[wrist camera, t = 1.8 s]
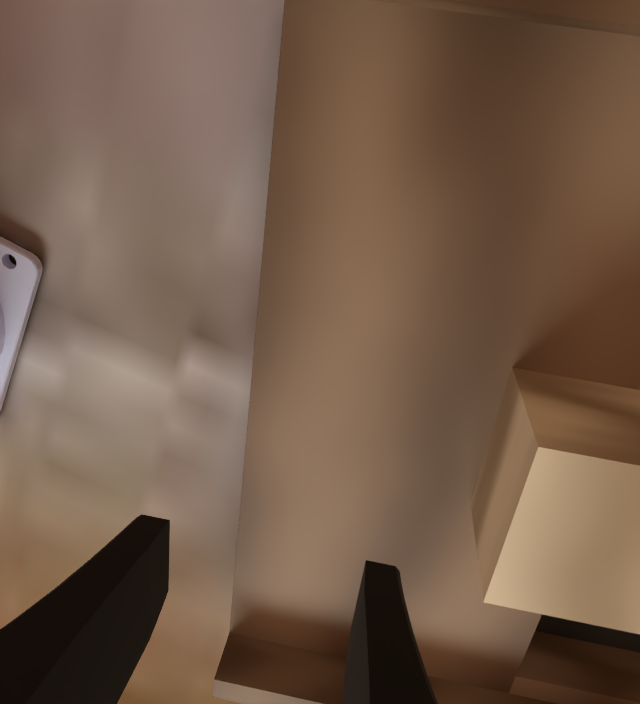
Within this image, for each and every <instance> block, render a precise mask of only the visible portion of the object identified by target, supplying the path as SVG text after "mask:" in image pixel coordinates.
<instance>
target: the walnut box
mask: <svg viewBox="0 0 640 704" xmlns="http://www.w3.org/2000/svg"><path fill="white" fill-rule="evenodd" d="M512 368H518V369H523V370H529V371H535V372H540V373H546V374H552V375H557V376H563V377H569V378H574V379H580V380H586V381H591V382H597V383H603V384H608V385H614V386H620V387H625V388H631V389H637V390H640V0H285V3H284V14H283V25H282V37H281V48H280V60H279V71H278V83H277V94H276V105H275V117H274V128H273V140H272V151H271V163H270V174H269V186H268V197H267V208H266V220H265V231H264V243H263V254H262V266H261V277H260V288H259V300H258V311H257V323H256V334H255V346H254V357H253V369H252V380H251V391H250V403H249V414H248V426H247V437H246V449H245V460H244V471H243V483H242V494H241V506H240V517H239V529H238V540H237V552H236V563H235V574H234V586H233V597H232V609H231V620H230V632H229V636H228V639H227V642H226V645H225V648H224V651H223V654H222V657H221V660H220V663H219V666H218V669H217V672H216V676H215V679H214V689H213V697H216V698H221V699H225V700H229V701H234V702H238V703H243V704H343V688H344V676H345V668H346V660H347V653H348V645H349V638H350V630H351V625H352V621H353V616H354V612H355V607H356V602H357V598H358V593H359V589H360V584H361V580H362V575H363V571H364V566H365V561H366V560H368V561H373V562H378V563H383V564H388V565H393V566H396V567H397V568H398V570H399V571H400V576H401V583H402V588H403V593H404V598H405V602H406V606H407V611H408V614H409V618H410V622H411V625H412V629H413V632H414V636H415V639H416V643H417V646H418V649H419V652H420V655H421V658H422V661H423V664H424V667H425V670H426V673H427V676H428V678H429V681H430V684H431V687H432V690H433V692H434V695H435V697H436V700H437V702H438V704H640V634H635V633H630V632H625V631H621V630H616V629H611V628H606V627H601V626H596V625H591V624H586V623H582V622H577V621H572V620H567V619H562V618H557V617H552V616H548V615H543V614H538V613H533V612H528V611H523V610H518V609H513V608H509V607H504V606H499V605H494V604H489V603H484V602H483V596H482V588H481V581H480V573H479V566H478V558H477V550H476V543H475V535H474V528H473V520H472V512H471V505H470V502H471V499H472V496H473V493H474V489H475V486H476V483H477V480H478V476H479V473H480V470H481V467H482V463H483V460H484V457H485V454H486V450H487V447H488V444H489V441H490V437H491V434H492V431H493V428H494V424H495V421H496V418H497V415H498V411H499V408H500V405H501V402H502V398H503V395H504V392H505V389H506V385H507V382H508V379H509V376H510V372H511V369H512Z"/></svg>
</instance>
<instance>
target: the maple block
mask: <svg viewBox="0 0 640 704" xmlns="http://www.w3.org/2000/svg"><path fill="white" fill-rule="evenodd" d="M470 505H471V512H472V520H473V528H474V535H475V543H476V550H477V558H478V566H479V573H480V581H481V588H482V596H483V602H484V603H489V604H494V605H499V606H504V607H509V608H513V609H518V610H523V611H528V612H533V613H538V614H543V615H548V616H552V617H557V618H562V619H567V620H572V621H577V622H582V623H586V624H591V625H596V626H601V627H606V628H611V629H616V630H621V631H625V632H630V633H635V634H640V390H637V389H631V388H625V387H620V386H614V385H608V384H603V383H597V382H591V381H586V380H580V379H574V378H569V377H563V376H557V375H552V374H546V373H540V372H535V371H529V370H523V369H518V368H512V369H511V372H510V376H509V379H508V382H507V385H506V389H505V392H504V395H503V398H502V402H501V405H500V408H499V411H498V415H497V418H496V421H495V424H494V428H493V431H492V434H491V437H490V441H489V444H488V447H487V450H486V454H485V457H484V460H483V463H482V467H481V470H480V473H479V476H478V480H477V483H476V486H475V489H474V493H473V496H472V499H471V502H470Z"/></svg>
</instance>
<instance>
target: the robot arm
mask: <svg viewBox="0 0 640 704" xmlns="http://www.w3.org/2000/svg"><path fill="white" fill-rule="evenodd" d="M9 254H10V255H12V256H13V257H14V258H15V260H16V265H14V264H13V263H12V262H11V261H10V259H9ZM42 269H43V267H42V264H41V261H40V260H39V259H38V257H37V256H35V255H34V254H33V253H31V252H29V251H27V250H25V249H23V248H21V247H20V246H18V245H16V244H14V243H12V242H10V241H8V240H6V239H4V238H2V237H1V236H0V412H1V409H2V405H3V402H4V399H5V395H6V392H7V389H8V385H9V382H10V379H11V375H12V372H13V369H14V365H15V362H16V359H17V355H18V352H19V349H20V345H21V342H22V339H23V335H24V332H25V329H26V325H27V322H28V319H29V315H30V312H31V308H32V305H33V302H34V298H35V295H36V292H37V288H38V285H39V282H40V278H41V275H42ZM169 531H170V520H166V519H161V518H156V517H151V516H146V515H140V516H138V517H137V518H136V519H135V520H133V521H132V522H131V523H130V524H129V525H128V526H127V527H126V528H125V529H124V530H123V531H121V532H120V533H119V534H118V535H117V536H116V537H115V538H114V539H113V540H111V541H110V542H109V543H108V544H107V545H106V546H105V547H104V548H102V549H101V550H100V551H99V552H98V553H97V554H96V555H94V556H93V557H92V558H91V559H90V560H89V561H88V562H86V563H85V564H84V565H83V566H82V567H80V568H79V569H78V570H77V571H76V572H74V573H73V574H72V575H71V576H70V577H68V578H67V579H66V580H65V581H64V582H62V583H61V584H60V585H59V586H57V587H56V588H55V589H54V590H52V591H51V592H50V593H49V594H47V595H46V596H45V597H43V598H42V599H41V600H39V601H38V602H37V603H35V604H34V605H33V606H31V607H30V608H29V609H27V610H26V611H25V612H24V613H22V614H21V615H20V616H18V617H17V618H16V619H14V620H13V621H11V622H10V623H9V624H7V625H6V626H4V627H3V628H2V629H0V704H117V702H118V700H119V698H120V696H121V695H122V693H123V691H124V689H125V687H126V685H127V683H128V681H129V679H130V677H131V675H132V673H133V671H134V669H135V667H136V665H137V663H138V661H139V659H140V657H141V656H142V654H143V652H144V650H145V648H146V646H147V644H148V642H149V640H150V637H151V635H152V632H153V630H154V627H155V625H156V622H157V620H158V617H159V614H160V612H161V609H162V606H163V604H164V601H165V598H166V596H167V593H168V582H169ZM343 704H438V702H437V700H436V697H435V695H434V692H433V690H432V687H431V684H430V681H429V678H428V676H427V673H426V670H425V667H424V664H423V661H422V658H421V655H420V652H419V649H418V646H417V643H416V639H415V636H414V632H413V629H412V625H411V622H410V618H409V614H408V611H407V606H406V602H405V598H404V593H403V588H402V583H401V576H400V571H399V570H398V568H397V567H396V566H393V565H388V564H383V563H378V562H373V561H368V560H366V561H365V566H364V571H363V575H362V580H361V584H360V589H359V593H358V598H357V602H356V607H355V612H354V616H353V621H352V625H351V630H350V638H349V645H348V653H347V660H346V668H345V676H344V688H343Z"/></svg>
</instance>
